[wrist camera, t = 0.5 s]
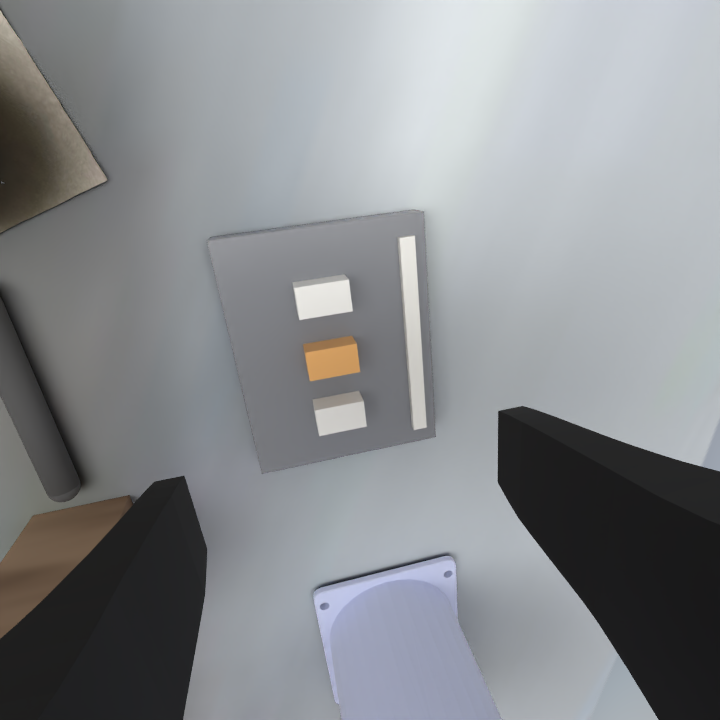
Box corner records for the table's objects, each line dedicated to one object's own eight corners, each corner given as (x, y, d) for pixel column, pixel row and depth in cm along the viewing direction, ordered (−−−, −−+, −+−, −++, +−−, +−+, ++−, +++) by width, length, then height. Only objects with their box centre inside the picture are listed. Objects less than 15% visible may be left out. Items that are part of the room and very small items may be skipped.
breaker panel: (426, 424, 22) (443, 448, 20) (261, 458, 21) (262, 488, 19) (413, 209, 18) (433, 213, 16) (210, 237, 17) (203, 244, 15)
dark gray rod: (89, 486, 20) (78, 504, 18) (59, 492, 19) (47, 511, 18) (0, 277, 16) (-20, 284, 15) (-37, 282, 16) (-59, 290, 15)
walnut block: (155, 561, 22) (110, 720, 15) (66, 582, 21) (-19, 755, 15) (129, 495, 20) (67, 640, 14) (32, 515, 20) (-78, 677, 13)
